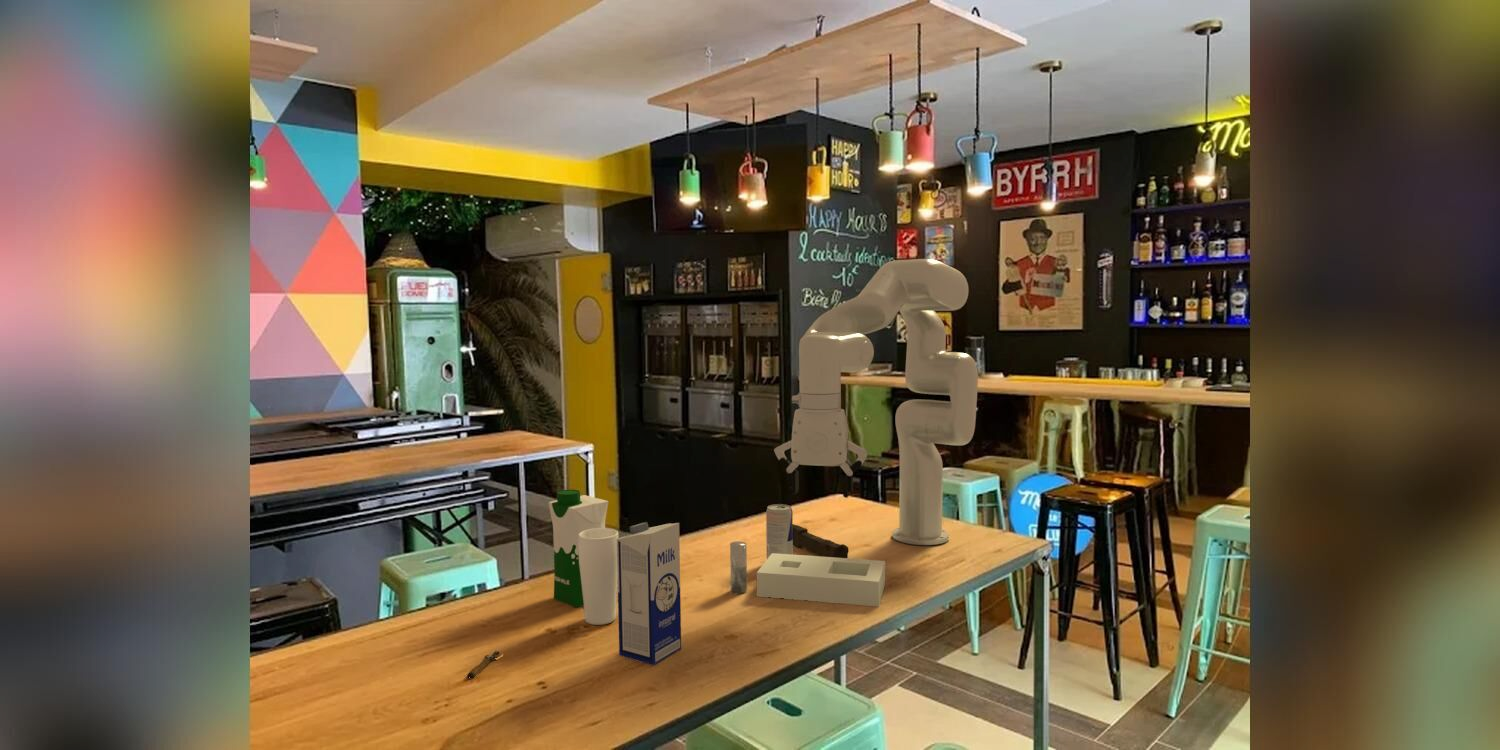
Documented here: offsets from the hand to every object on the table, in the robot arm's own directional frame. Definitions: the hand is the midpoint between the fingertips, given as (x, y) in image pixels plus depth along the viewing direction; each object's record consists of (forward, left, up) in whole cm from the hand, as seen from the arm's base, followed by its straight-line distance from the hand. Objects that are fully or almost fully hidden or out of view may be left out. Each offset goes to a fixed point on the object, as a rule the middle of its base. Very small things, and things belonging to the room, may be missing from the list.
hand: (820, 494), depth 148 cm
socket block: (0, 0, -18) cm, 18 cm away
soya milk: (+14, -42, -18) cm, 48 cm away
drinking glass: (+23, -34, -18) cm, 45 cm away
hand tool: (-23, -6, -18) cm, 30 cm away
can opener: (+43, -43, -19) cm, 63 cm away
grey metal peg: (+4, -15, -18) cm, 24 cm away
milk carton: (+33, -21, -18) cm, 43 cm away
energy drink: (-13, -11, -18) cm, 25 cm away
